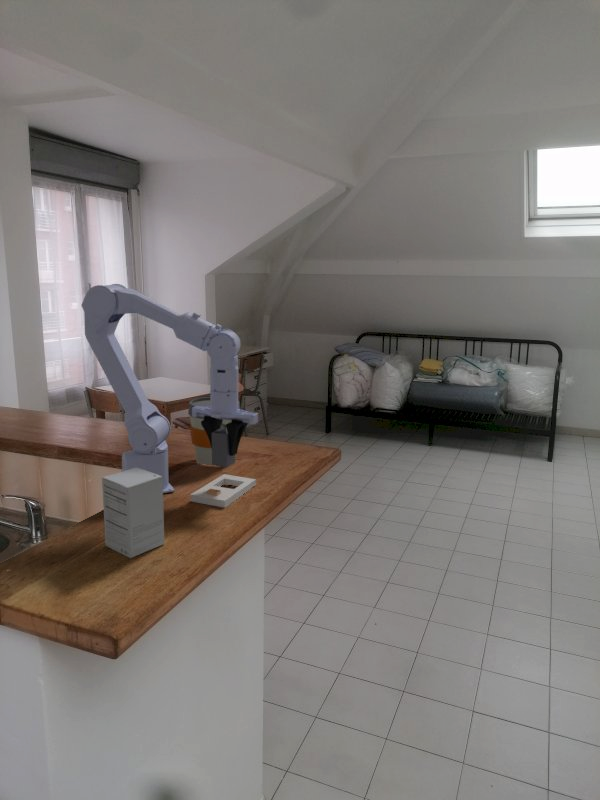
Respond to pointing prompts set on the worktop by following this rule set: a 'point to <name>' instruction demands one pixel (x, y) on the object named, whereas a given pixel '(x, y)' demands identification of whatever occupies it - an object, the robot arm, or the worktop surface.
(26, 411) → the worktop surface
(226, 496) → the white board with cutouts
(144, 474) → the supplement box
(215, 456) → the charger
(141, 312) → the robot arm
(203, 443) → the reusable coffee cup
